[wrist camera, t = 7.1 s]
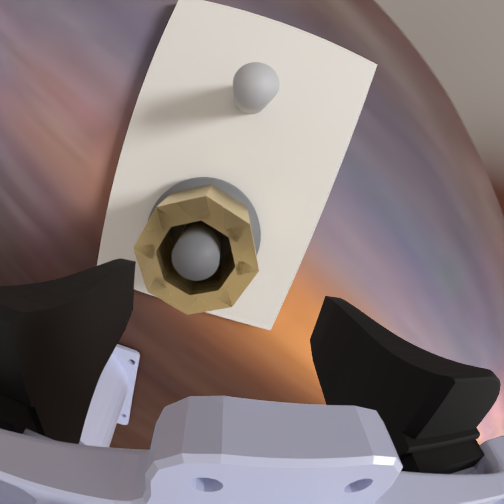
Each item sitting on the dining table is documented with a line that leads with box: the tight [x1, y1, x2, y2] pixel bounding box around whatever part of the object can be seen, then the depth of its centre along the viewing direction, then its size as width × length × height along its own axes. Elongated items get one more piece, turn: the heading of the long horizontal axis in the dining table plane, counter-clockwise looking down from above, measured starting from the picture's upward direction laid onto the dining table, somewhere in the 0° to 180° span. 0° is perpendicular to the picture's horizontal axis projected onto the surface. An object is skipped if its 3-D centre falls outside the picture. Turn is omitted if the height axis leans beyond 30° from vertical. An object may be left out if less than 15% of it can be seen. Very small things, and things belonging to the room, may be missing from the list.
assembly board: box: [97, 0, 377, 330], centre depth 15 cm, size 18×12×6 cm, turn 160°
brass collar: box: [133, 184, 259, 315], centre depth 16 cm, size 5×5×4 cm
